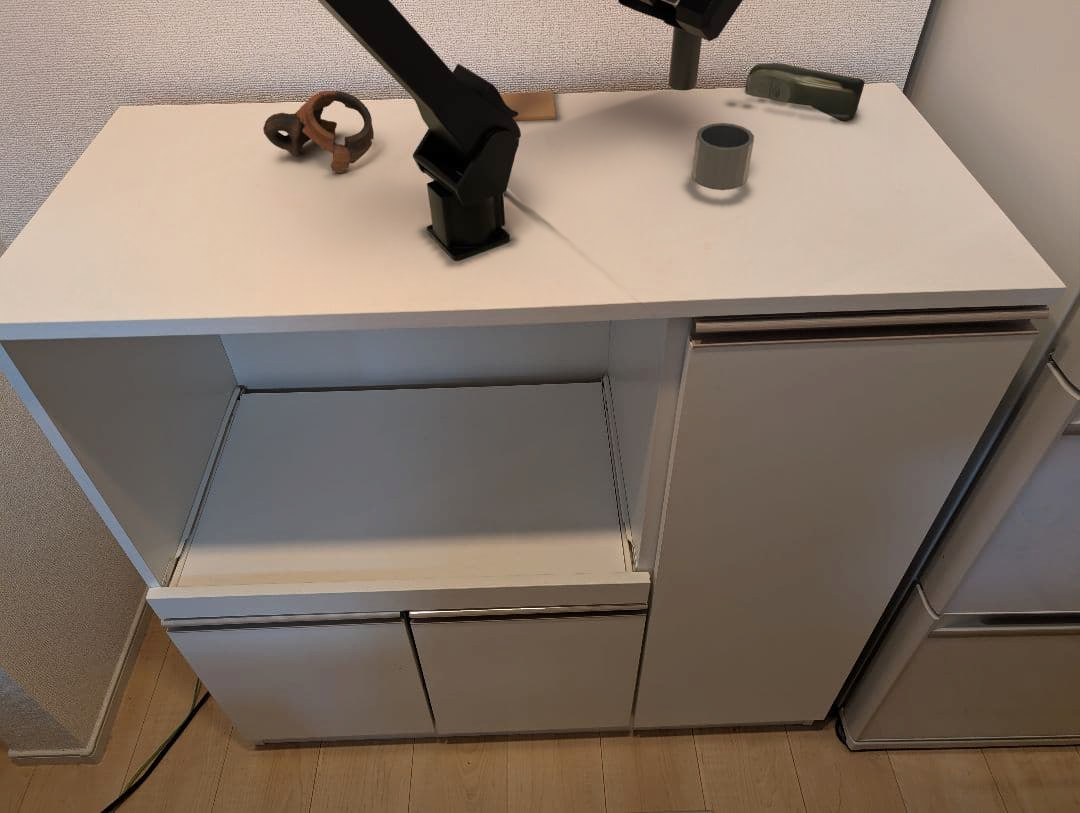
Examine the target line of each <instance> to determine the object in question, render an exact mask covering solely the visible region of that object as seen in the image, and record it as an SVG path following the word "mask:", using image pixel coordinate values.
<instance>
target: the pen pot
mask: <svg viewBox="0 0 1080 813" xmlns="http://www.w3.org/2000/svg"><path fill="white" fill-rule="evenodd" d="M754 140H755V136H754V134H753V132H752V131H751V130H750V129H747V127H744V126H742V125H738V124H735V123H726V122H716V123H710V124H707V125H704V126H702V127H700V128H699V129H698V130H697V132H696V138H695V146H694V154H693V160H692V161H693V162H692V170H691V177H692V179H693V180H694V182H695V183H697V184H699V185H700V186H701V187H704V188H707V189H711V190H717V191H727V190H733V189H737V188H739V187H742V186H743V185H744V184H745V183H746V182H747V181H748V175H749V170H750V164H751V158H752V153H753V148H754Z"/></svg>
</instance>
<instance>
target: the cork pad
mask: <svg viewBox="0 0 1080 813" xmlns="http://www.w3.org/2000/svg"><path fill="white" fill-rule="evenodd" d="M500 95H501V97H502V99H503V101H504V102H505V104H506V105H507V106H509V107H510V108H512V109H514V110H515V111H517V112H518V116H516V117H514V118H513V119H514V120H515V121H533V120H534V121H536V120H555V119H556V118H557V116H556V108H555V100H554V92H553V91H536V92H535V91H533V92H531V91H530V92H509V93H507V92H506V93H500Z"/></svg>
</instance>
